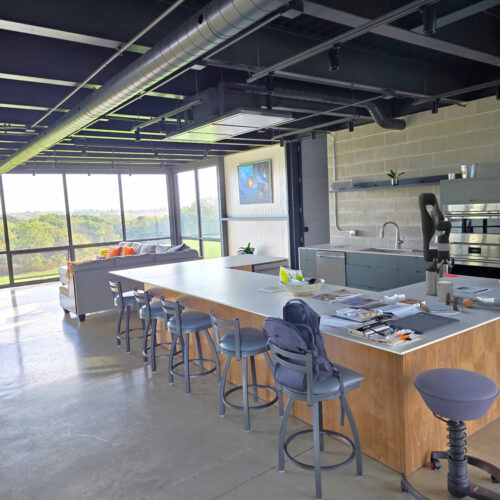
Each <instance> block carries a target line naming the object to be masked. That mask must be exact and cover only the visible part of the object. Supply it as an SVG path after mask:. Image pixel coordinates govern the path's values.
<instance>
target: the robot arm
mask: <svg viewBox="0 0 500 500" xmlns="http://www.w3.org/2000/svg"><path fill="white" fill-rule="evenodd" d="M418 205H419V212H420V218H421V220H420V221H421V231H422V232H421V233H422V241H423V244H422V245H423V246H422V247H423V261H425V263H431V264H430V265H426V267H425V295H427V296H437V282H440V268H441V266H442V265H443V266H444V265H446V266H448V273H449V274H451V273H452V271H453V267H455V266H456V263H455V258H454V257H451V256H450V254H451V253H450V252H451V251H450V249H451V248H450V235H451V232H452V227H453V224H452V222H451V221H450V220H445V219H446V218H445V215H444V214H443V212H442V210H441V208H440V206H439V202H438V199H437V196H436V194H435V193H433V192H421V193H420V194H419V195H418ZM427 206H431V207H432V209H431V211H430V213H429V211H428V209H427ZM436 231H437V232H443V233H442V234H438V236H437V248H430V243H431V241H432V239H433V238H434V236H435V234H436Z"/></svg>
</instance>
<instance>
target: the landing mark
mask: <svg viewBox="0 0 500 500" xmlns="http://www.w3.org/2000/svg"><path fill="white" fill-rule="evenodd" d="M424 305H425V306H427V307H428V308H429V312H430V311H451V310H452V308H450V307H448V305H446V304H424Z"/></svg>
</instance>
